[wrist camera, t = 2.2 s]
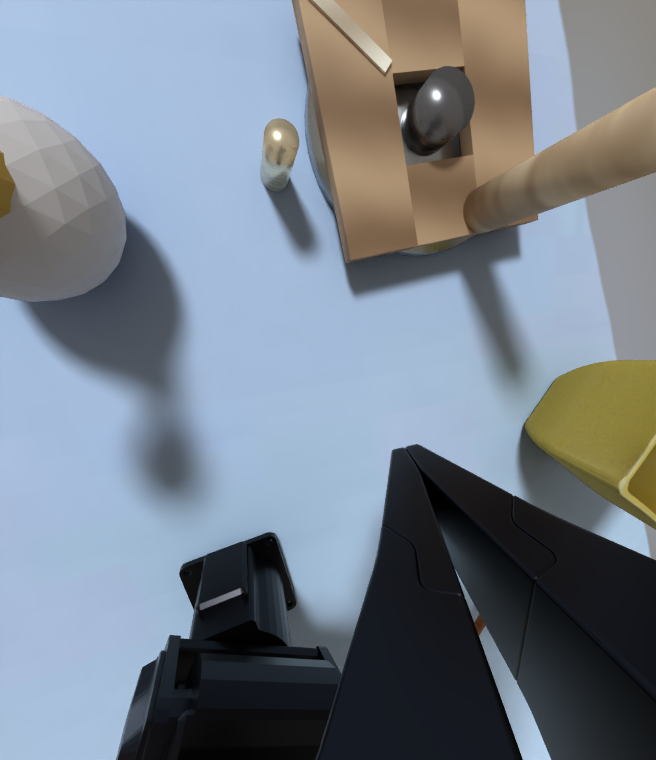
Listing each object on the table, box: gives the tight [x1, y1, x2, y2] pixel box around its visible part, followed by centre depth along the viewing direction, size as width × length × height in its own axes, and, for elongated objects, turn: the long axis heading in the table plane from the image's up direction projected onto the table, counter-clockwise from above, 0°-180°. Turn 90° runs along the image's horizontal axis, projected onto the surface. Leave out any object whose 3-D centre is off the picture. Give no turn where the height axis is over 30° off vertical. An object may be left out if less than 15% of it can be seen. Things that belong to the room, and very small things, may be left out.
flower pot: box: [525, 360, 656, 529], centre depth 23 cm, size 9×9×9 cm
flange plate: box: [292, 0, 656, 263], centre depth 13 cm, size 13×13×11 cm
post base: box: [260, 66, 475, 256], centre depth 18 cm, size 14×17×4 cm
